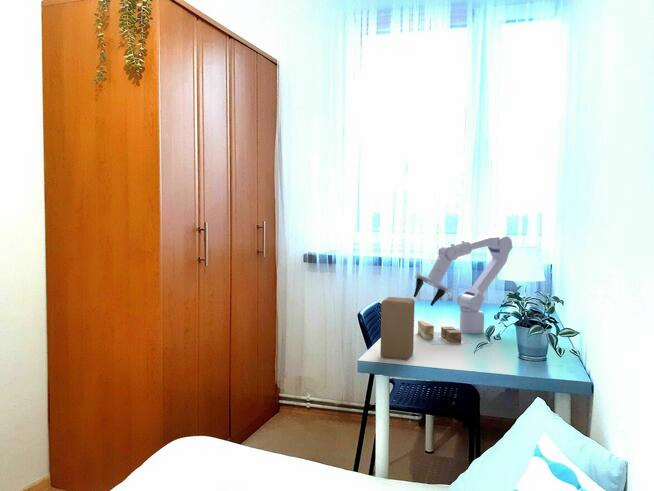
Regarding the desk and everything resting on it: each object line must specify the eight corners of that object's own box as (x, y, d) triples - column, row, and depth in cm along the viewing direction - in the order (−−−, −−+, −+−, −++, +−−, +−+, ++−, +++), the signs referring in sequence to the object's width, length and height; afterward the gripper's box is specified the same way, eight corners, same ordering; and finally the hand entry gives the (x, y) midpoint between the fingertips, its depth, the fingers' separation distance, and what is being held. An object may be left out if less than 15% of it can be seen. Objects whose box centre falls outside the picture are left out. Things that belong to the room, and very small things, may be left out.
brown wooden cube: (451, 336, 228) (452, 326, 228) (455, 339, 224) (456, 329, 224) (441, 336, 228) (441, 326, 228) (444, 339, 223) (445, 329, 223)
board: (454, 332, 237) (454, 332, 237) (472, 344, 217) (472, 343, 217) (416, 333, 235) (416, 332, 235) (431, 345, 215) (431, 344, 215)
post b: (457, 339, 223) (457, 329, 222) (461, 342, 218) (461, 332, 218) (446, 340, 222) (446, 330, 222) (449, 342, 218) (450, 332, 217)
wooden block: (413, 353, 202) (415, 298, 201) (408, 360, 193) (409, 302, 191) (386, 351, 205) (387, 296, 204) (379, 358, 196) (380, 300, 194)
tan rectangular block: (426, 332, 235) (426, 320, 234) (433, 338, 225) (433, 325, 224) (417, 332, 234) (418, 320, 234) (424, 338, 224) (425, 326, 224)
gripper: (421, 261, 231) (405, 291, 230) (453, 277, 226) (438, 307, 224) (423, 266, 238) (408, 294, 236) (455, 281, 232) (439, 310, 231)
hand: (422, 301), depth 231 cm, fingers open, 7 cm apart
